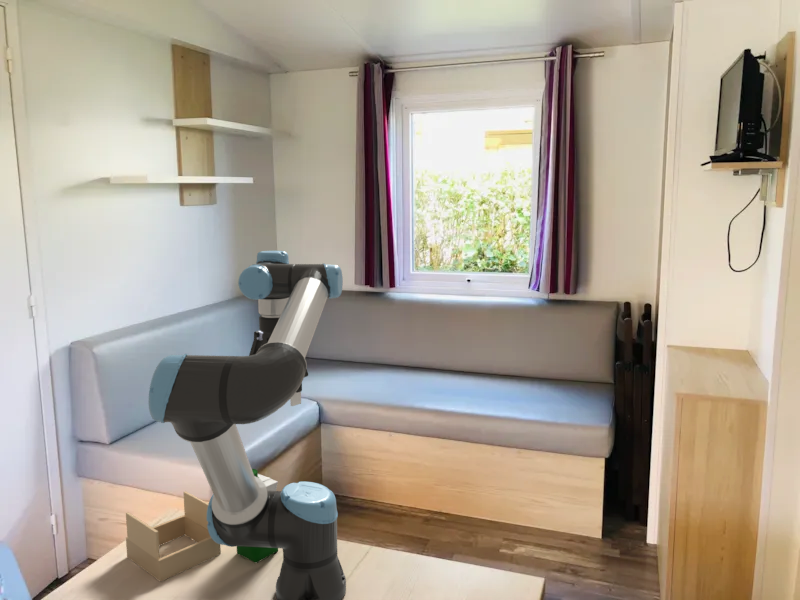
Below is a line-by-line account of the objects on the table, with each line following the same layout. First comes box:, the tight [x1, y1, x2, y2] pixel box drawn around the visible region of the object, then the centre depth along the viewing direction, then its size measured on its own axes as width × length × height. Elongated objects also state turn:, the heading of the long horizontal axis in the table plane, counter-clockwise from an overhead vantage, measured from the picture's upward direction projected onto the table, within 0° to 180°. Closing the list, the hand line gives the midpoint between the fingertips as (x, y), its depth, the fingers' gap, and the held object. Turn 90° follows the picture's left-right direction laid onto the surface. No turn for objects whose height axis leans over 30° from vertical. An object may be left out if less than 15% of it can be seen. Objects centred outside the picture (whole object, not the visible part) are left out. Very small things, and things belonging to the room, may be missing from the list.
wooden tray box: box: [125, 490, 222, 582], centre depth 155 cm, size 16×16×12 cm
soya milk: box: [236, 468, 279, 564], centre depth 156 cm, size 9×9×20 cm
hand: (277, 399), depth 161 cm, fingers open, 13 cm apart
